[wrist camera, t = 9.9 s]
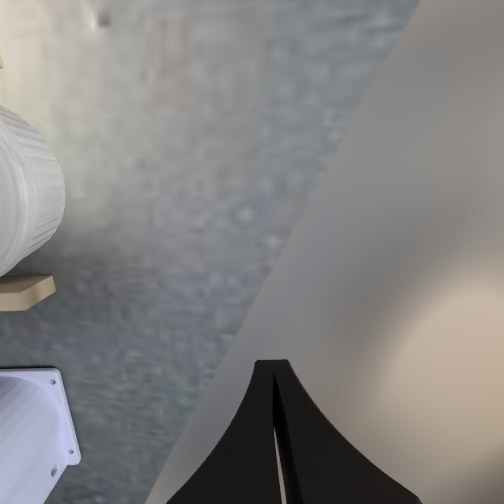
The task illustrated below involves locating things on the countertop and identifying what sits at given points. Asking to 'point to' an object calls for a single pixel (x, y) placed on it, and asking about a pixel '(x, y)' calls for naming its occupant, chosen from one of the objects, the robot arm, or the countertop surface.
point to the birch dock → (23, 287)
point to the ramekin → (26, 190)
